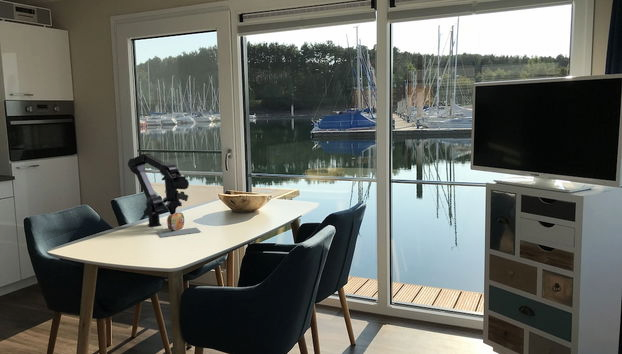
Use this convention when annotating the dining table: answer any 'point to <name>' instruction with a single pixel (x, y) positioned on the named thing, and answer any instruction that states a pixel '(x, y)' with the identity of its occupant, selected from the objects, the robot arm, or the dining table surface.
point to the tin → (175, 221)
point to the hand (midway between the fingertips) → (173, 217)
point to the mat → (178, 232)
